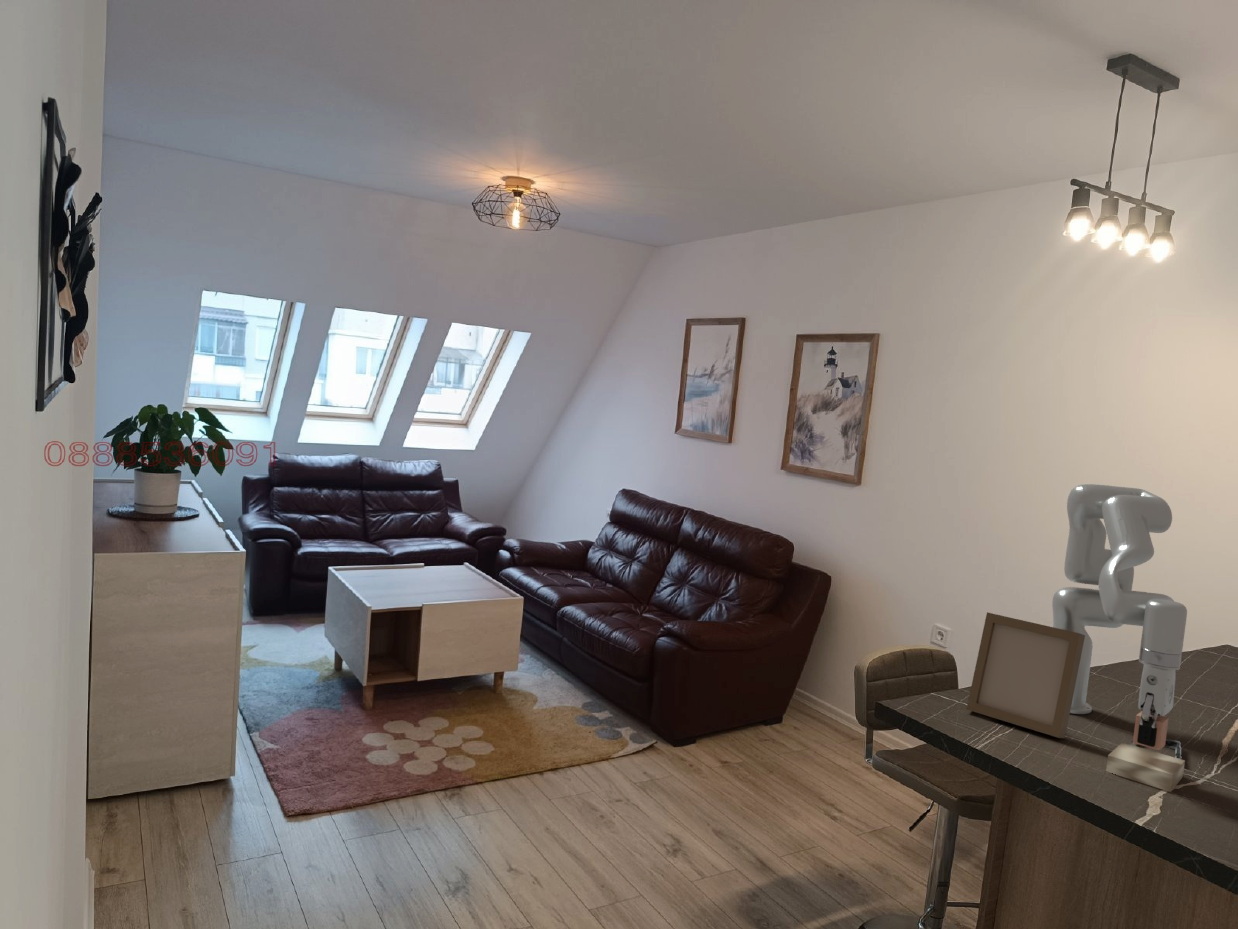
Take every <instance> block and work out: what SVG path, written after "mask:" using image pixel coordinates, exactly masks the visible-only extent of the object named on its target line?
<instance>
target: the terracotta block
mask: <svg viewBox="0 0 1238 929" xmlns="http://www.w3.org/2000/svg"><path fill="white" fill-rule="evenodd" d="M1141 714H1142V711H1141V710H1140V712H1139V713H1137V714H1136V715H1135V723H1134V730H1133V738H1132V739H1133V740H1132V741H1133V743H1135V744H1137V745H1138V746H1139V745H1140V746H1143V747H1146V748H1150V749H1153V750H1155V751H1156V750H1157V751H1161V750H1162V749H1163V748H1164V747H1165V742H1166V739H1167V733H1168V724H1169V717H1168V716H1165V715H1164V716H1160V715H1158V717H1157V722H1156V727H1155V728H1157V734H1156V741H1155V746H1154V747H1151V746H1147V745H1144V744H1140V743H1138V742H1137V739H1138V731H1139V724H1140V719H1141ZM1150 717H1152V719H1153V717H1154V716H1152V715H1150Z"/></svg>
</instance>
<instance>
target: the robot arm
mask: <svg viewBox="0 0 1238 929" xmlns="http://www.w3.org/2000/svg"><path fill="white" fill-rule="evenodd" d="M1066 511H1067V517H1068V518H1067V519H1068V523H1069V524H1068V525H1069V532H1068V538H1067V546H1066V551H1065V560H1064V575H1065V577H1066V578H1067V580H1069V581H1071V582H1073V583H1077V584H1084V585H1093V586H1098V589H1093V588H1085V587H1075V586H1073V587H1072V586H1067V587H1062V588H1059V589H1058V590H1056V591H1055V593H1054V594H1053V596H1052V604H1051V605H1052V606H1051V607H1052V617H1053V618H1052V623H1053V624H1052V627H1054V628H1058V629H1063V630H1067V631H1072V632H1076V633H1080V634H1083V635H1085V639H1084V644H1083V649H1082V654H1081V659H1080V664H1079V669H1078V674H1077V679H1076V684H1075V689H1074V694H1073V699H1072V705H1071V710H1070V714H1074V715H1088V714H1090V713H1091V712H1092V710H1093V707H1092V706H1091V705H1090V703H1088V702H1087V694H1088V687H1089V678H1090V672H1091V671H1090V670H1091V664H1092V663H1091V662H1092V655H1093V639H1092V638H1091V637H1090V634H1088V632H1087V630H1086V628H1085V627H1097V628H1100V627H1101V628H1110V629H1118V628H1120V627H1122V626H1123V625H1130V626H1138V627H1142V632H1141V640H1140V647H1139V653H1138V654H1139V655H1138V662H1139V663H1140V664H1142V665H1143V667H1142V668H1143V669H1142V671H1141V672H1142V673H1141V677H1140V678H1141V679H1140V686H1139V693H1138V698H1137V699H1138V702H1137V708H1138V710H1140V712H1141V711H1142V714H1141V719H1140V724H1139V731H1138V739H1137V742H1138V743H1140V744H1144V745H1147V746H1151V747H1154V746H1155V741H1156V734H1157V728H1155V727H1156V722H1157V717H1158V715H1160V716H1164V717H1165V716H1166V715H1167V714H1169V713H1170V712H1171V711H1172V709H1173V707H1174V701H1175V698H1174V697H1175V690H1176V689H1175V687H1176V686H1175V685H1176V673H1177V672H1176V671H1179V670H1180V669H1181V664H1182V655H1183V654H1182V653H1183V647H1184V639H1185V632H1186V625H1187V616H1188V610H1187V607H1186V605H1184V604H1182V603H1181V602H1178V601H1175V600H1174V599H1173V598H1172V597H1171V596H1169V595H1167V594H1162V593H1156V592H1155V593H1154V592H1146V591H1139V590H1132V589H1133V583H1134V578H1135V577H1134V576H1135V567H1137V566H1141V565H1143V564H1145V563H1147V562H1149V561H1150V560H1151V559H1152V558H1153V557H1154V554H1155V548H1154V546H1153V541H1152V538H1151V534H1150V533H1152V534H1153V533H1154V534H1162V533H1165V532H1167V531H1168V530H1169V529H1170V527H1171V526H1172V522H1173V513H1172V509H1171V507H1170V505H1169V503H1168V502H1167V501H1166V500H1165V499H1163V498H1162V497H1160V496H1158V495H1157V494H1153V493H1151V492H1150V491H1148V490H1145V489H1141V488H1137V487H1136V488H1135V487H1125V486H1115V485H1107V484H1096V483H1094V484H1092V483H1088V484H1079V485H1076V486H1074V487H1073V488H1072V489H1071V490H1070V492H1069V494H1068V498H1067V501H1066ZM1102 520H1103V521H1104V522H1103V521H1102ZM1103 523H1104V524H1103ZM1106 540H1108V543H1109V544H1108V545H1109V547H1110V549H1109V548H1108V549H1107V548H1105V547H1106ZM1150 715H1152V716H1154V717H1153V719H1152V717H1150Z"/></svg>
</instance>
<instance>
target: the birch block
mask: <svg viewBox="0 0 1238 929" xmlns="http://www.w3.org/2000/svg"><path fill="white" fill-rule="evenodd" d="M1185 764H1186V760H1185V759H1182V758H1181V759H1178V758H1175V756H1170V755H1168V754H1163V753H1161V752H1158V751H1153V750H1152V749H1147V748H1143V747H1141V746H1140V747H1139V746H1138V745H1136V746H1133V745H1131V743H1130V744H1129V743H1127V742H1123V741H1122V742H1121V743H1120V744H1119V745H1117V747H1116V748H1114V749H1113V750H1112V751H1111V752H1110V753H1109V754H1108V755H1107V760H1106V769H1105V772H1106V771H1107V772H1106V773H1109V774H1112V773H1113V775H1115V774H1116V775H1115V776H1119V777H1121V778H1125V779H1128V780H1132V781H1134V782H1138V783H1141V784H1144V785H1147V786H1151V787H1153V788H1157V789H1161V790H1163V791H1166V792H1168V793H1169V792H1170V793H1171V792H1172V791H1173V790H1174V789H1175V787H1176V786H1177V785H1178V784H1179V782H1180V781H1181V780H1182V778H1183V777H1184V770H1185Z"/></svg>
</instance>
